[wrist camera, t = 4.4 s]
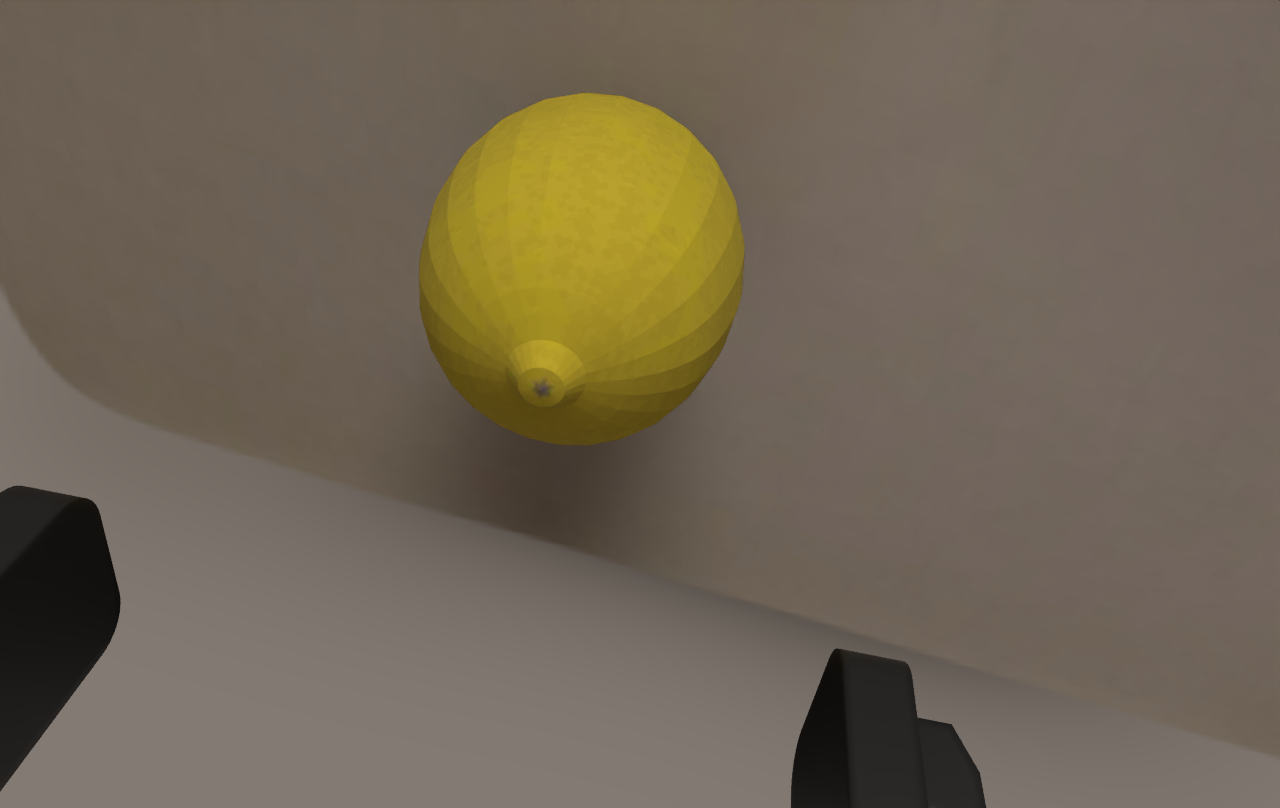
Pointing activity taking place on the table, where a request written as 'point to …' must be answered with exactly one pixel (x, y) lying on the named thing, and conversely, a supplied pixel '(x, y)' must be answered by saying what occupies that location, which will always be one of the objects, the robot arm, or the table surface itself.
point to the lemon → (581, 269)
